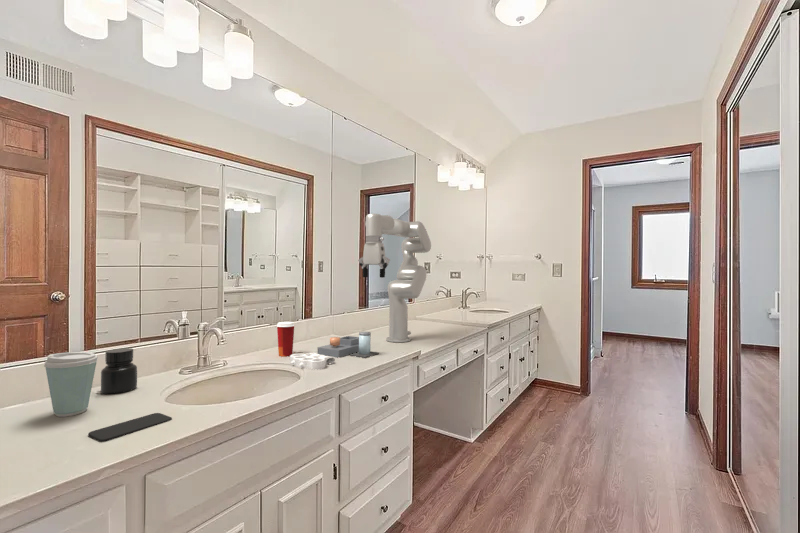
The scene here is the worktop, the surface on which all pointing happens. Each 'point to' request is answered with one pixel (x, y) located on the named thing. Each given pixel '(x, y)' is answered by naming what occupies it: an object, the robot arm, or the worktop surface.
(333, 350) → the grey stepped block
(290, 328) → the paper cup
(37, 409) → the worktop surface
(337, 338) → the plunger
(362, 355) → the mat
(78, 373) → the disposable coffee cup
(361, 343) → the cylinder
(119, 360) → the ink bottle
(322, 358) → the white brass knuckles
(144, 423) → the phone
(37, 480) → the worktop surface
